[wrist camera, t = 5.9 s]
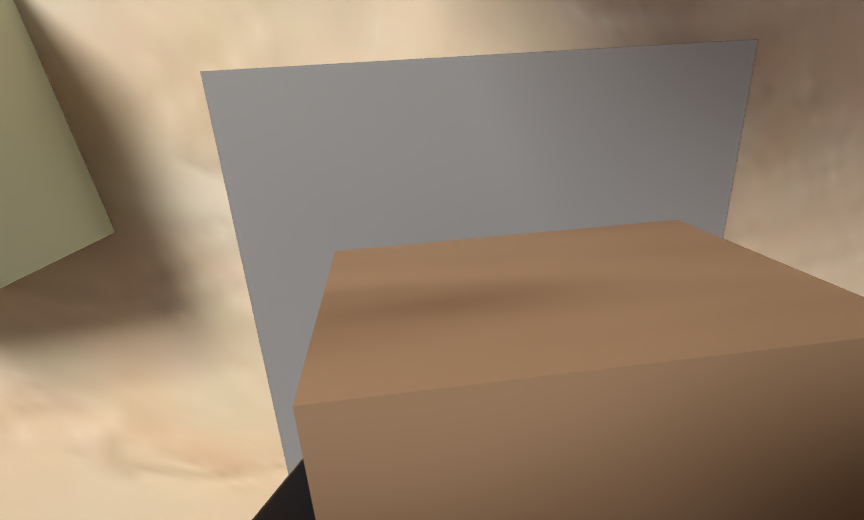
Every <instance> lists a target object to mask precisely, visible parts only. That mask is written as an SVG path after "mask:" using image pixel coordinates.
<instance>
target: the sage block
mask: <svg viewBox="0 0 864 520" xmlns="http://www.w3.org/2000/svg"><path fill="white" fill-rule="evenodd" d="M113 233H115V231H114V228H113V226H112V224H111V221H110V219H109V217H108V215H107V212H106V210H105V208H104V205H103V203H102V201H101V199H100V196H99V194H98V192H97V189H96V187H95V185H94V183H93V180H92V178H91V176H90V173H89V171H88V169H87V167H86V164H85V162H84V160H83V157H82V155H81V153H80V151H79V148H78V146H77V144H76V141H75V139H74V137H73V135H72V132H71V130H70V128H69V125H68V123H67V121H66V119H65V116H64V114H63V112H62V109H61V107H60V105H59V103H58V100H57V98H56V96H55V93H54V91H53V89H52V87H51V84H50V82H49V80H48V77H47V75H46V73H45V71H44V68H43V66H42V64H41V61H40V59H39V57H38V55H37V52H36V50H35V48H34V45H33V43H32V41H31V38H30V36H29V34H28V32H27V29H26V27H25V25H24V22H23V20H22V18H21V16H20V13H19V11H18V9H17V6H16V4H15V2H14V0H0V289H1V288H3V287H5V286H7V285H9V284H11V283H13V282H15V281H17V280H19V279H21V278H23V277H25V276H27V275H29V274H31V273H33V272H35V271H37V270H39V269H41V268H43V267H45V266H47V265H49V264H52V263H54V262H56V261H58V260H60V259H62V258H64V257H66V256H68V255H70V254H72V253H74V252H76V251H78V250H80V249H82V248H84V247H86V246H88V245H90V244H92V243H94V242H96V241H98V240H100V239H102V238H104V237H106V236H108V235H110V234H113Z"/></svg>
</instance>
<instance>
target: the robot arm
mask: <svg viewBox="0 0 864 520" xmlns="http://www.w3.org/2000/svg"><path fill="white" fill-rule="evenodd" d="M252 520H316V519H315V514H314V509H313V504H312V499H311V495H310V490H309V485H308V480H307V475H306V470H305V465H304V460H303V458H302V460H301V461H300V462H299V463H298V464H297V466H296V467H295V468H294V469H293V470H292V472H291V473H290V474H289V475H288V477H287V478H286V479H285V480H284V481H283V483H282V484H281V485H280V486H279V488H278V489H277V490H276V491H275V492H274V494H273V495H272V496H271V497H270V498H269V500H268V501H267V502H266V503H265V505H264V506H263V507H262V508H261V509H260V511H259V512H258V513H257V514H256V516H255V517H254V518H253V519H252Z"/></svg>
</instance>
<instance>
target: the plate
mask: <svg viewBox="0 0 864 520" xmlns="http://www.w3.org/2000/svg"><path fill="white" fill-rule="evenodd" d="M757 43H758V39H753V40H736V41H719V42H702V43H684V44H667V45H650V46H633V47H615V48H598V49H581V50H564V51H546V52H529V53H512V54H494V55H477V56H460V57H443V58H425V59H408V60H391V61H374V62H356V63H339V64H322V65H305V66H287V67H270V68H253V69H236V70H218V71H201V77H202V81H203V86H204V91H205V95H206V100H207V104H208V109H209V113H210V118H211V123H212V127H213V132H214V136H215V141H216V145H217V150H218V154H219V159H220V164H221V168H222V173H223V177H224V182H225V186H226V191H227V196H228V200H229V205H230V209H231V214H232V218H233V223H234V228H235V232H236V237H237V241H238V246H239V250H240V255H241V259H242V264H243V269H244V273H245V278H246V282H247V287H248V291H249V296H250V301H251V305H252V310H253V314H254V319H255V323H256V328H257V332H258V337H259V342H260V346H261V351H262V355H263V360H264V364H265V369H266V374H267V378H268V383H269V387H270V392H271V396H272V401H273V406H274V410H275V415H276V419H277V424H278V428H279V433H280V437H281V442H282V447H283V451H284V456H285V460H286V465H287V469H288V474H290V473H291V472H292V470H293V469H294V468H295V467H296V466H297V464H298V463H299V462H300V461H301V460H302V458H303V455H302V450H301V445H300V440H299V435H298V431H297V426H296V421H295V416H294V411H293V403H294V399H295V395H296V392H297V388H298V384H299V381H300V377H301V374H302V370H303V366H304V363H305V359H306V355H307V352H308V348H309V344H310V341H311V337H312V334H313V330H314V326H315V323H316V319H317V315H318V312H319V308H320V305H321V301H322V297H323V294H324V290H325V286H326V283H327V279H328V275H329V272H330V268H331V265H332V261H333V257H334V254H335V251H341V250H352V249H363V248H374V247H385V246H396V245H407V244H418V243H428V242H439V241H450V240H461V239H472V238H483V237H494V236H505V235H516V234H527V233H538V232H549V231H560V230H570V229H581V228H592V227H603V226H614V225H625V224H636V223H647V222H658V221H669V220H679V221H682V222H684V223H686V224H689V225H691V226H694V227H696V228H698V229H701V230H703V231H706V232H708V233H710V234H713V235H715V236H718V237H720V238H722V239H723V235H724V230H725V224H726V218H727V213H728V207H729V201H730V196H731V190H732V184H733V179H734V173H735V167H736V162H737V156H738V150H739V145H740V139H741V133H742V128H743V122H744V116H745V111H746V105H747V100H748V94H749V88H750V83H751V77H752V71H753V66H754V60H755V54H756V49H757Z"/></svg>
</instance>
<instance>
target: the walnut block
mask: <svg viewBox="0 0 864 520" xmlns="http://www.w3.org/2000/svg"><path fill="white" fill-rule="evenodd" d="M293 411H294V416H295V421H296V426H297V431H298V435H299V440H300V445H301V450H302V455H303V460H304V465H305V470H306V475H307V480H308V485H309V490H310V495H311V499H312V504H313V509H314V514H315V519H316V520H864V297H862V296H859V295H857V294H855V293H852V292H850V291H847V290H845V289H843V288H840V287H838V286H835V285H833V284H830V283H828V282H826V281H823V280H821V279H818V278H816V277H814V276H811V275H809V274H806V273H804V272H802V271H799V270H797V269H794V268H792V267H790V266H787V265H785V264H782V263H780V262H778V261H775V260H773V259H770V258H768V257H766V256H763V255H761V254H758V253H756V252H754V251H751V250H749V249H746V248H744V247H742V246H739V245H737V244H734V243H732V242H730V241H727V240H725V239H722V238H720V237H718V236H715V235H713V234H710V233H708V232H706V231H703V230H701V229H698V228H696V227H694V226H691V225H689V224H686V223H684V222H682V221H679V220H669V221H658V222H647V223H636V224H625V225H614V226H603V227H592V228H581V229H570V230H560V231H549V232H538V233H527V234H516V235H505V236H494V237H483V238H472V239H461V240H450V241H439V242H428V243H418V244H407V245H396V246H385V247H374V248H363V249H352V250H341V251H335V254H334V257H333V261H332V265H331V268H330V272H329V275H328V279H327V283H326V286H325V290H324V294H323V297H322V301H321V305H320V308H319V312H318V315H317V319H316V323H315V326H314V330H313V334H312V337H311V341H310V344H309V348H308V352H307V355H306V359H305V363H304V366H303V370H302V374H301V377H300V381H299V384H298V388H297V392H296V395H295V399H294V403H293Z"/></svg>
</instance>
